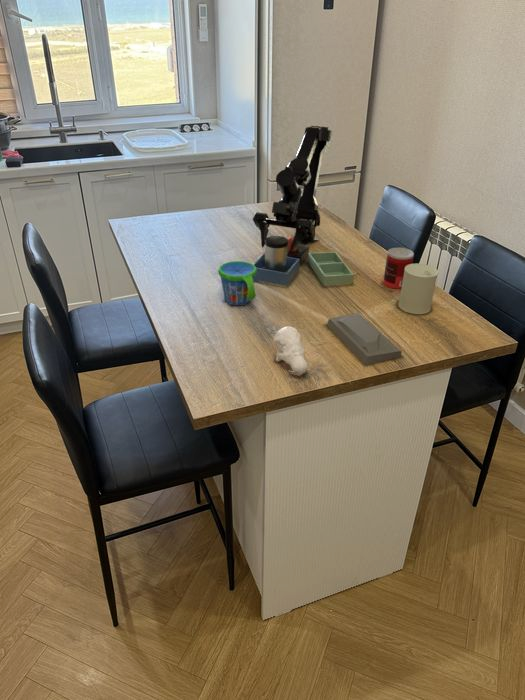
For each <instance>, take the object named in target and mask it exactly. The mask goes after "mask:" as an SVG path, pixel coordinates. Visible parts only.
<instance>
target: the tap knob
mask: <svg viewBox="0 0 525 700" xmlns="http://www.w3.org/2000/svg"><path fill="white" fill-rule="evenodd" d="M294 236H295V235H287V236H285V238H287V239H288V245H287V251H290V248H291V244H292V241H293V239H294ZM296 250H297V246H296V247H295V249H294V250H293V251H296Z"/></svg>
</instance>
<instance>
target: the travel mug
mask: <svg viewBox="0 0 525 700" xmlns="http://www.w3.org/2000/svg"><path fill="white" fill-rule="evenodd" d="M287 245H288V239H287V238H286V236H281V235H269V236H267V238H266V239H265V245H264V253H265V269H267V270H273V271H279V272H284V273H286V264H287Z"/></svg>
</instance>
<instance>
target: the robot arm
mask: <svg viewBox="0 0 525 700" xmlns="http://www.w3.org/2000/svg"><path fill="white" fill-rule="evenodd" d="M332 141H333V130H331V128H330V126H322V125H311V126H308V127H307V126H306V127H305V129H304V136H303V139H302V141H301V144H300V146H299V149H298V151H297V154H296V157H295V158H293V159H292V160H291V161H289V163H288V164H287V166H286V165H285V167H284V169H282V170H281V171H279V172H278V173H277V174H276V176H275V181H276V183H277V186H278V189H279V192H280V193H281V197H280V200H279V201H273V202H272V208H271V213H272V214H273V217H274V218H271V217H269V215H268V213H264V212H260V211H259V212H258V211H256V212H255V213H254V214H253V216H252V222H253V223H254V225H255V227H256V228H258V229H259V231H260V241H261V242H260V243H261V248H265V239H266V238H267V237H268V234H269V228H270V226H276V227H283V228H290V229H295V233H294V235H293V236H294V239H293V241H292V244H291V248H290V252H292V251H293V250H294V249H295V247H296V246H297V245H300V243H302V244H303V245H307V244H308V245H309V244H312V243H314V242H317V241H319V240H318V238H317V237H316V228H317V227H320V226H321V215H320V211H319V204H318V202H317V199H316V195H317V194H316V193H317V189H318V184H319V177H320V174H321V173H320V171H321V167H322V161H323V155H324V154H325V153H326V152H327V151H328V150H329V147H330V143H331V142H332ZM300 186H303V189H302V188H301V187H300Z"/></svg>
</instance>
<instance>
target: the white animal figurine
mask: <svg viewBox="0 0 525 700" xmlns="http://www.w3.org/2000/svg"><path fill="white" fill-rule="evenodd" d="M273 345H274V347H275V348H276V357H275V361H276V362H278V363H279V362H281V361H284V362H285V363H286V364H288V365H289V366H290V368H291V370H288V372H290V373H291V374H293V375H296V376H298V377H302V375H304V374H305V373H306V372H307V371H308V368H309V366H308V362H307V360H306V359H305V356H306V350H305V348H304V347H303V344H302V336H301V334H300V333H299V332H298V330H297V329H296V328H295V327H293V326H287V325H286V326H285V327H282V328H280V329H278V330H277V331H276V333H275V335H274V336H273Z"/></svg>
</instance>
